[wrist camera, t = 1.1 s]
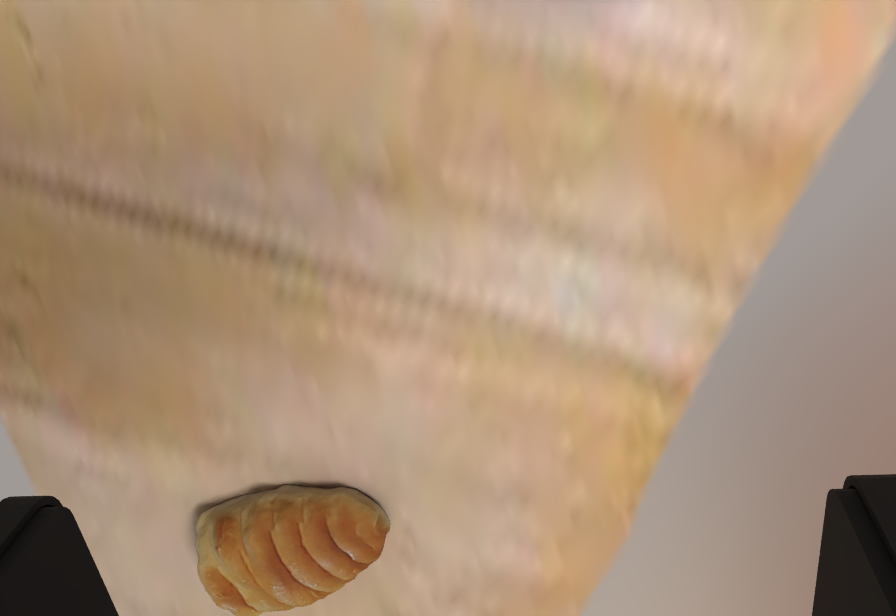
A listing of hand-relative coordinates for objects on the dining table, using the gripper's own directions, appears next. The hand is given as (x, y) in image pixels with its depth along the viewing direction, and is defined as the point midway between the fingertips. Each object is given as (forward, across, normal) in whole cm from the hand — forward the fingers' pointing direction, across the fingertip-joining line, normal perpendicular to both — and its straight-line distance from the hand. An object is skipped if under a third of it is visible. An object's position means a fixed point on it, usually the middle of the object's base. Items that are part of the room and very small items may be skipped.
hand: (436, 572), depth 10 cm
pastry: (+22, +13, +20) cm, 33 cm away
